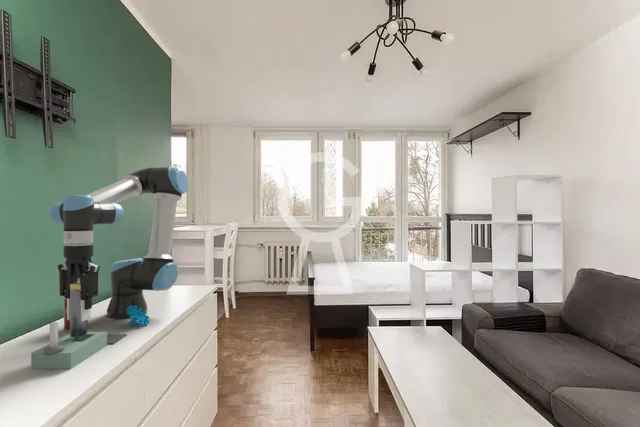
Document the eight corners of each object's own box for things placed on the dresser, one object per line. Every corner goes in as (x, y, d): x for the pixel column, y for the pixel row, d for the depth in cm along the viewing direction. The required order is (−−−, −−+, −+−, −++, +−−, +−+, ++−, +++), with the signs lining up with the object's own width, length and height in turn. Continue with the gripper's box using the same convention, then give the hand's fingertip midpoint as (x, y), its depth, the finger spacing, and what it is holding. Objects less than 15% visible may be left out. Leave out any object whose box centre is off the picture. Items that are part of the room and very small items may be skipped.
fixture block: (73, 345, 108) (73, 307, 108) (107, 345, 108) (106, 307, 108) (27, 371, 91) (27, 326, 91) (67, 371, 91) (67, 325, 91)
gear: (141, 325, 123) (124, 305, 124) (129, 337, 122) (112, 317, 123) (156, 319, 134) (140, 301, 135) (145, 330, 133) (129, 312, 134)
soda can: (91, 327, 125) (91, 295, 125) (69, 333, 119) (69, 300, 119) (82, 323, 129) (82, 293, 129) (60, 329, 123) (60, 297, 123)
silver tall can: (79, 331, 106) (79, 281, 106) (90, 332, 105) (90, 281, 105) (66, 336, 101) (66, 284, 101) (78, 337, 101) (78, 284, 101)
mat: (104, 335, 117) (104, 334, 117) (127, 335, 118) (127, 334, 118) (89, 344, 109) (89, 343, 109) (113, 344, 110) (113, 343, 110)
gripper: (43, 244, 101) (44, 321, 101) (91, 246, 98) (91, 325, 98) (67, 242, 109) (67, 313, 109) (112, 243, 105) (112, 317, 105)
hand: (78, 318), depth 103 cm, fingers closed on silver tall can, 4 cm apart
